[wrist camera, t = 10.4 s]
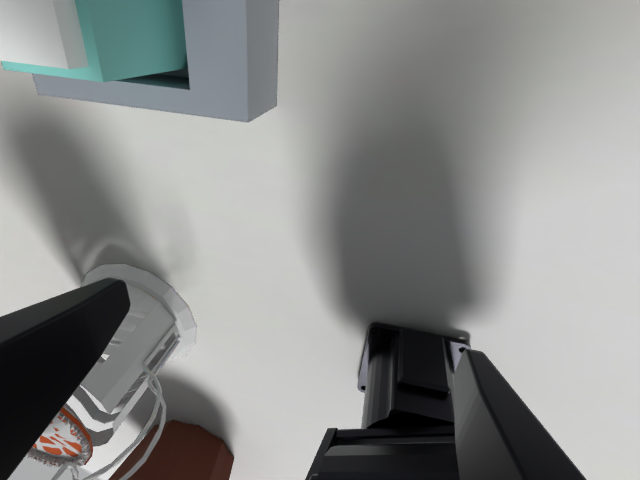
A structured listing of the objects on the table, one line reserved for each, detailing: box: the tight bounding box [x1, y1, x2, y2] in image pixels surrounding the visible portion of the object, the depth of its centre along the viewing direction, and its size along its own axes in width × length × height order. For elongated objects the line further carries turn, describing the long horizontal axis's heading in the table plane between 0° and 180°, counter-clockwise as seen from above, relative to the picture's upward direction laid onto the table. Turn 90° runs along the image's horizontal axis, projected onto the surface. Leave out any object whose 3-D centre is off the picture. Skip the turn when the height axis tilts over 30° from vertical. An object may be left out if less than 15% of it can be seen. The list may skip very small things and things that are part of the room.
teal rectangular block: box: [0, 0, 188, 82], centre depth 13 cm, size 4×4×8 cm
